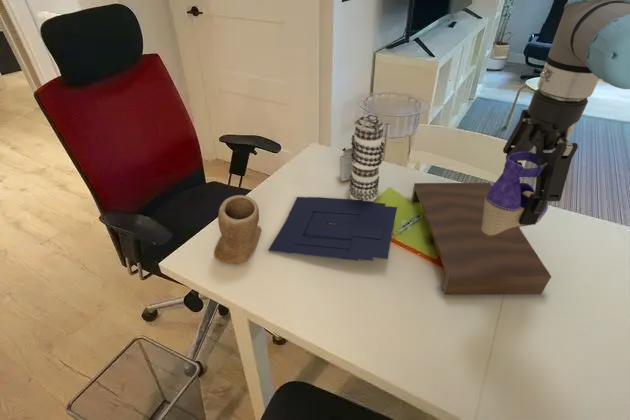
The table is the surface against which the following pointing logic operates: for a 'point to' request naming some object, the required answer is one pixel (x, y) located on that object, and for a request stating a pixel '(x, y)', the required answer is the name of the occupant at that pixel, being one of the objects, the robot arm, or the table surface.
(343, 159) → the ink box
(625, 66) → the robot arm
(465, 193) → the walnut wood board
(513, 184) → the sandal
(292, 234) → the papers
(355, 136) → the decorative candle
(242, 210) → the stone cup
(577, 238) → the table surface
